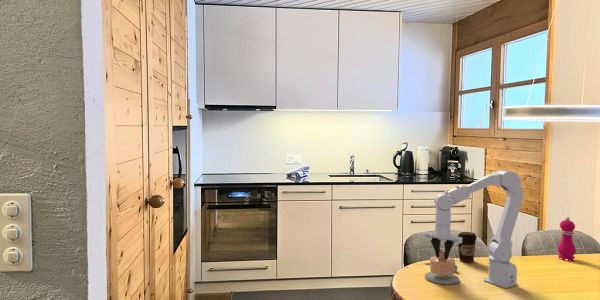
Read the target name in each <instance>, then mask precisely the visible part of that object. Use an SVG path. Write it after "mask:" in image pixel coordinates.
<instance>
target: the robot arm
mask: <svg viewBox="0 0 600 300" xmlns="http://www.w3.org/2000/svg"><path fill="white" fill-rule="evenodd" d="M489 186H494V187H495V186H497V187H500V188H502V189H503V191H504V193H506V195H507V197H506V199H505V203H504V206H503V209H502V213H501V217H500V219H499V224H498V227H497V228H496V233H495V234H494V235H493V236H492V238H491V240H490V241H489V242H488V243H487V246H486V248H487V251H488V253H489V256H488V277H486V278H483V281H484V282H486V283H490V284H493V285H495V286H498V287H501V288H503V289H506V288H511V287H514V286H517V285H519V284H518V283H517V279H518V278H517V276H518V275H517V272H518V268H517V266H516V264H514V263H512V262H511V261H510V260H511V259H512V256H513V252H512V247H513V242H512V235H513V232H514V229H515V226H516V223H517V219H518V217H519V213H520V209H521V206H522V202H523V200H524V197H525V193H524V189H523V185H522V179H521V177H520V176H519V175H518V174H517V173H516V172H514V171H509V170H506V169H499V170H496V171H493V172H490V173H489V174H487V175H485V176H482V177H481V178H479V179H477V180H476V181H474V182H472V183H470V184H468V185H464V184H461V185H460V184H457V185H455V188H451V189H449V190H448V191H447V190H445V191H444V193H438V194H437V195H436V197H434V200H433V203H434V204H435V206H436V207H435V217H434V218H435V224H434V225H435V227H434V228H435V229H434V231H435V232H429V231H424V232H423V238H428V239H430V243H431V245H432V247H433V250H434V252H435V253H434V254H435V256H436V258H439V251H440V250H441V242H442V241H444V251H445V259H446V260H447V259H448V257H450V253H451V251H452V250H451V249H452V248H453V246H454V244H455V243H460V244H461V243H462V238H461V237H457V236H456V235H451V227H452V225H451V219H452V217H451V215H452V213H451V211H452V210H451V209H452V208H453V207H454V205H457V204H459V203H461V202H464V201H466V200H467V199H469V198H470V196H471V194H473V193H475V192H477V191H481V190H483V189H485V188H487V187H489Z"/></svg>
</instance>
